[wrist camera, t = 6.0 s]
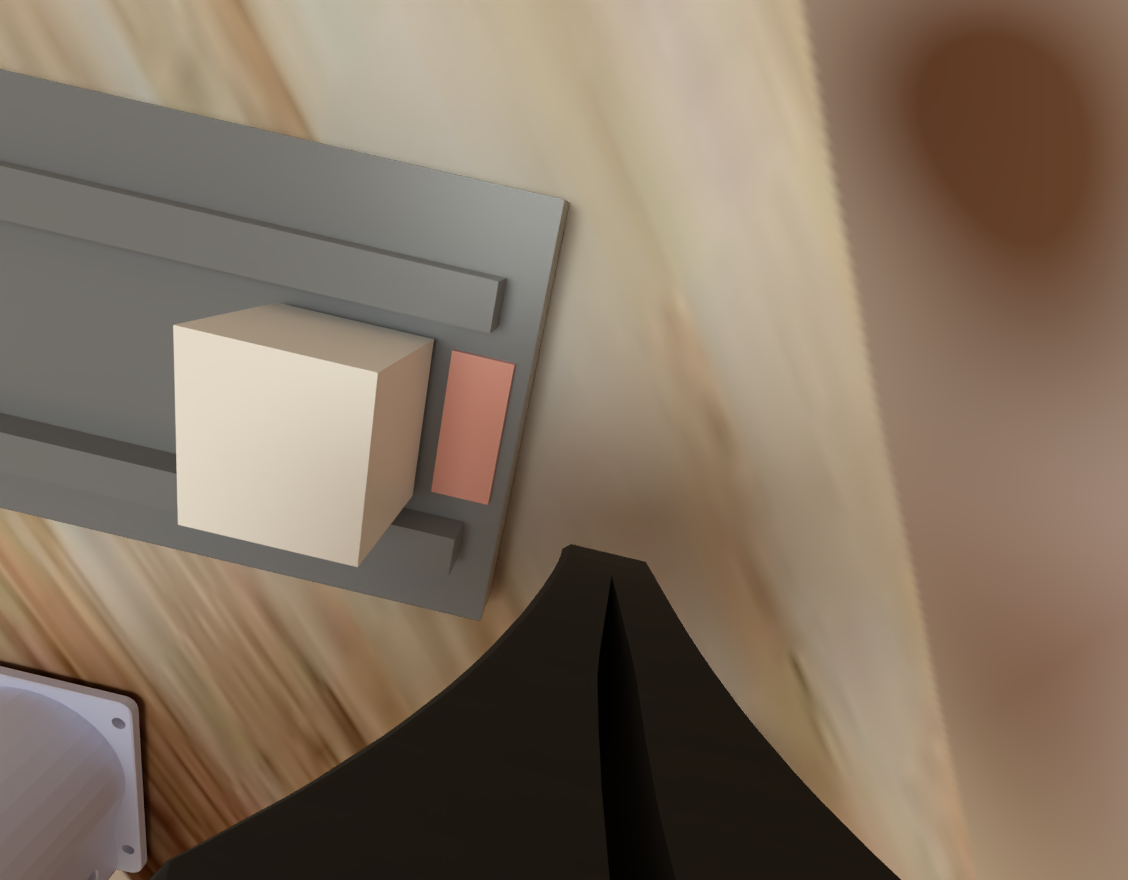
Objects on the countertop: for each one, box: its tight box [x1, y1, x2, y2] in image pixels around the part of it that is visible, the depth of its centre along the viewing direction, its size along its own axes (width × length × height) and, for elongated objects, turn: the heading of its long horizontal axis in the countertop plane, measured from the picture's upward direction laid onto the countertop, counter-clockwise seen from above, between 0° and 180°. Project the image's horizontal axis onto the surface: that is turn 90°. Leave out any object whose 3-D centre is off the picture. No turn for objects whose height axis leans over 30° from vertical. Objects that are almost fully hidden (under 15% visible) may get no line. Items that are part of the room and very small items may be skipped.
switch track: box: [0, 69, 570, 621], centre depth 16 cm, size 12×18×2 cm, turn 78°
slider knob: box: [173, 303, 434, 567], centre depth 13 cm, size 4×4×4 cm
